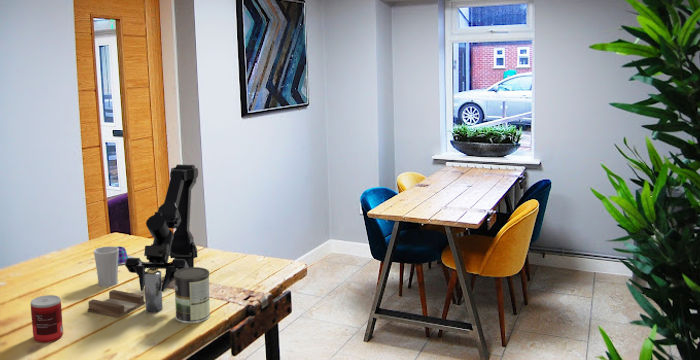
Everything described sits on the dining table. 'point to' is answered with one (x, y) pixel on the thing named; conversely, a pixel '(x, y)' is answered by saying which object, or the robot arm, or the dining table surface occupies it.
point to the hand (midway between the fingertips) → (151, 291)
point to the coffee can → (192, 295)
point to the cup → (107, 265)
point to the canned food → (46, 318)
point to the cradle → (117, 304)
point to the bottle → (153, 290)
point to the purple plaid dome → (122, 255)
